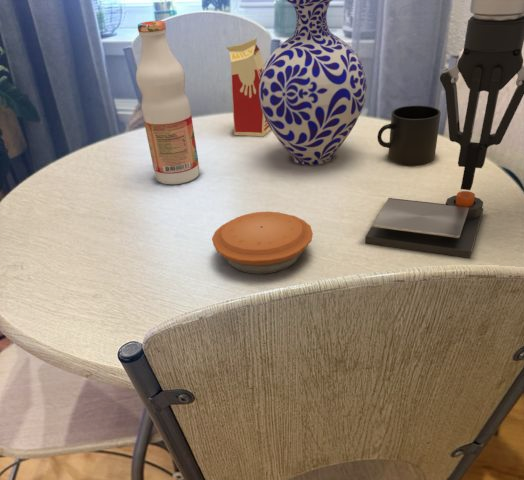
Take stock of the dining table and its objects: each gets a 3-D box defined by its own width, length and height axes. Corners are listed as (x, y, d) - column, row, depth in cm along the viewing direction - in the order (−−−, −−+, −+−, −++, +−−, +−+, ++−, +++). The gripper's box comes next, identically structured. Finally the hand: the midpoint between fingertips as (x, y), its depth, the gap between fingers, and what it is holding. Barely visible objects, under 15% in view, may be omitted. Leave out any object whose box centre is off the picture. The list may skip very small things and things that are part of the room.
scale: (482, 213, 90) (486, 197, 88) (469, 258, 79) (473, 240, 77) (388, 203, 96) (389, 187, 94) (364, 243, 85) (365, 225, 83)
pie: (204, 281, 80) (200, 251, 76) (226, 232, 91) (222, 204, 88) (307, 283, 77) (307, 253, 74) (316, 233, 89) (316, 204, 86)
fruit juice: (146, 178, 113) (114, 25, 95) (181, 164, 117) (156, 16, 100) (174, 189, 107) (144, 29, 89) (209, 174, 112) (188, 19, 94)
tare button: (474, 201, 88) (476, 191, 87) (471, 209, 86) (473, 198, 85) (456, 200, 89) (458, 190, 88) (453, 207, 87) (455, 197, 86)
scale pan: (468, 209, 85) (469, 207, 85) (459, 238, 78) (459, 236, 78) (388, 200, 90) (388, 198, 89) (372, 226, 83) (372, 225, 83)
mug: (373, 151, 115) (376, 107, 110) (429, 148, 114) (435, 103, 109) (378, 167, 108) (381, 121, 102) (438, 164, 107) (445, 118, 101)
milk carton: (274, 124, 135) (270, 33, 122) (265, 136, 128) (259, 42, 115) (240, 123, 137) (232, 34, 124) (229, 135, 130) (219, 43, 117)
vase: (255, 176, 109) (241, 4, 90) (272, 140, 125) (263, -13, 106) (361, 176, 105) (370, -4, 86) (364, 139, 121) (373, -20, 102)
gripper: (554, 9, 71) (512, 181, 86) (452, 10, 75) (429, 173, 90) (552, 19, 65) (508, 200, 81) (443, 20, 70) (420, 191, 85)
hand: (466, 186), depth 85 cm, fingers closed
